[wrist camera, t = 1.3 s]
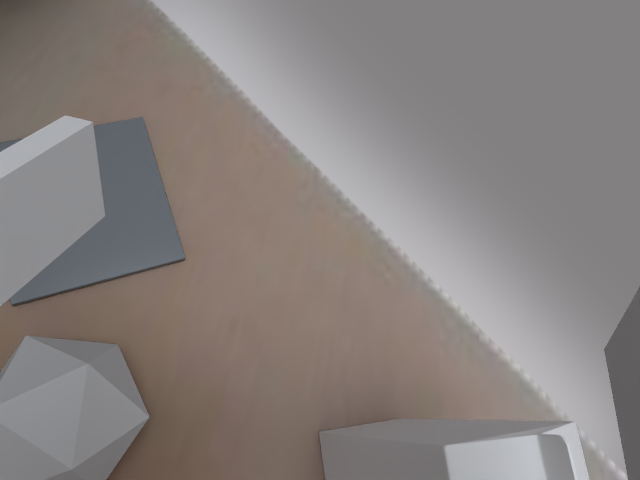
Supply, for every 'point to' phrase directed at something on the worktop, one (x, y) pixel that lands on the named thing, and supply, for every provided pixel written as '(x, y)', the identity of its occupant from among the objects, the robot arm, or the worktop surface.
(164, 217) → the coaster
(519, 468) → the milk
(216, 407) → the worktop surface
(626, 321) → the robot arm
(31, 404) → the die
